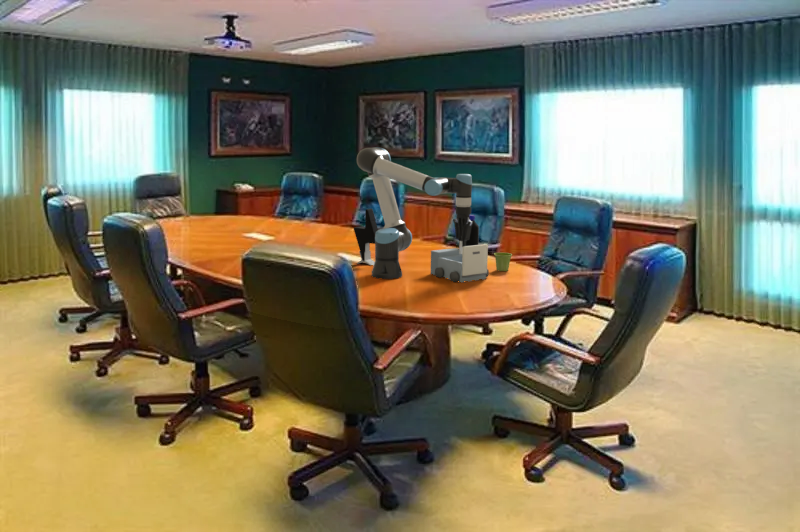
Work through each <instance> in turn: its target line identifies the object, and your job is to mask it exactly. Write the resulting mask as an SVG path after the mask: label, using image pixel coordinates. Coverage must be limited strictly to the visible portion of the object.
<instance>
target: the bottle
mask: <svg viewBox="0 0 800 532" xmlns="http://www.w3.org/2000/svg"><path fill="white" fill-rule="evenodd" d="M469 216H470V220H471V221H473V225H472V228H471V233H470V239H469V240H467V241H466V246H473V245H479V241H480V238H479V237H480V233H479V232H480V230H479V229H480V227H479V225H478V223H477V222H476V221H475V220H476V214H475V215H474V214H470V215H469Z"/></svg>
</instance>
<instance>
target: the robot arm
mask: <svg viewBox="0 0 800 532" xmlns="http://www.w3.org/2000/svg"><path fill="white" fill-rule="evenodd" d="M356 164H357V166H358V168H359V169H361V170H362V171H363V172H367V176H368V178H370V179H372V182H373V186H374V190H375V193H376V196H377V201H378V204H379V207H380V211H381V214H382V217H383V222H384V226H383V227H382V228H380V229H379V228H378V231H376V234H375V244H374V247H375V248H374V250H375V251H374V253H375V254H374V262H375V263H374V265H373V267H372V270H371V277H372V276H373V277H372V278H374V277H376V278H375V279H379V278H382V279H381V280H394V279H393V278H396V279H400V278H402V277H403V271H402V267H401V265H400V261H399V258H400V257H399V256H400V255H399V253H400V252H402V251H405V250H407V249H408V248H409V247H410V245H412V242H413V234H412V232H411V231H410V230H409V228H407V226H406V221H403V220H402V218H401V215H400V210H399V207H398V203H397V200H396V196H395V192H394V188H393V185H392V182H391V179H392V180H394V181H396V182H399V183H402V184H404V185H407V186H410V187H413V188H415V189H418V190H420V191H422V192H425V193H426V194H427V195H428V196H431V197H432V196H433V197H435V196H439V195H443V194H455V214H456V218H453V219H452V222H453V224H454V233H455V239H457V240H458V247H459V248H458V249H459V254H463V247H464V246H466V241H467V240H469V239H470V233H471V228H472V225H473V221H471V220H470V216H469V215H472V207H471V206H472V192H473V191H472V190H473V180H472V178H473V177H472V175H471V174H469V173H457V174H456V176H455V177H441V176H440V177H432V176H430V175H427V174H426V173H425V174H424V173H422V172H420V171H416V170H414V169H411V168H409V167H406V166H403V165H401V164H398V163H395V162H393V161H392V159H391V155H390V153H389V152H388V150H387V149H385V148H382V147H379V146H376V147H365V148H363V149H361V150H360V151H359V152H358V154H357V156H356ZM399 277H400V278H399Z"/></svg>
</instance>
